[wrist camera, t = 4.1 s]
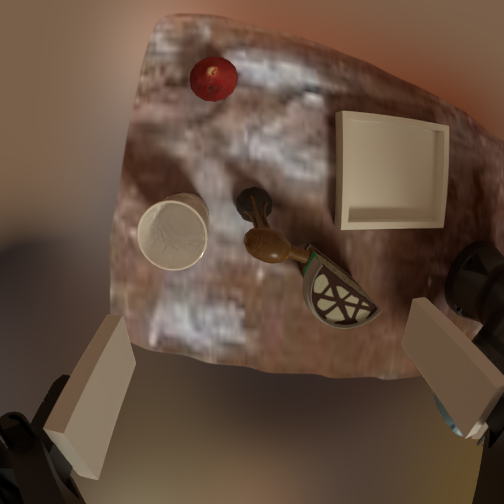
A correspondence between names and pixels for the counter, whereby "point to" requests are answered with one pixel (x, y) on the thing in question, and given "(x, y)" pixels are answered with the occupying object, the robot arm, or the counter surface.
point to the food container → (334, 293)
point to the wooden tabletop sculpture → (265, 230)
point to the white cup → (174, 231)
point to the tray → (390, 172)
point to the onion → (213, 79)
